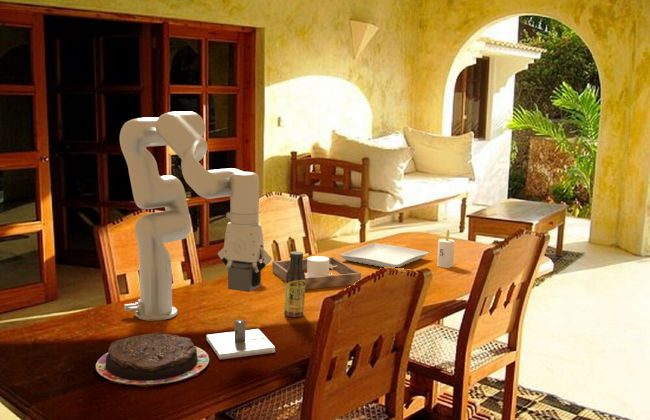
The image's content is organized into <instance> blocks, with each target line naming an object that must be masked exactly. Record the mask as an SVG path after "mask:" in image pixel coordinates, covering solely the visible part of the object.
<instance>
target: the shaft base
mask: <svg viewBox="0 0 650 420" xmlns="http://www.w3.org/2000/svg"><path fill="white" fill-rule="evenodd" d="M233 328H234V330H233V331H228V332H220V333H212V334H206V342H207V343H208V344H209V346H210V347H211V349H212V350H213V352H214V353H215V354H216V356H217V358H218V359H219V360H226V359H234V358H235V359H236V358H243V357H248V356H249V357H250V356H256V355H265V354H273V353H276V347H275V345H274V344H273V343H272V342H271V341H270V340H269V339H268V337H267V336H266V335H265V334H264V333H263V332H262V331H261V330H260V329H259V328H255V329H247V328H246V320H245V319H236V320H234V327H233Z"/></svg>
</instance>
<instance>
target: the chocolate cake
mask: <svg viewBox="0 0 650 420" xmlns="http://www.w3.org/2000/svg"><path fill="white" fill-rule="evenodd" d="M107 351H108V352H106V353H104V354H103V355H102V356H101V357H100V358H98V359H97V362H96V363H95V371H96V372H97V373H98V375H99V376H101V377H102V378H104V379H106V380H107V381H109V382H110V383H111V382H113V383H112V384H116V383H118V385H122V384H125V385H126V386H129V385H130V386H131V385H132V386H137V387H140V386H141V387H142V388H149V386H151V387H154V385H155V386H162V385H161V384H163V385H167V384H171V383H176V382H182V381H184V380H188V379H190V378H193V377H197V376H199V375H200V373H201V372H202V371H203V370H205V369H206V367H207V366H208V365H209V363H210V358H209V354H208V353H207V352H206V350H204V349H202V348H200V347H198V346H196V345H194V343H193V341H192V339H191V338H189V337H186V336H179V335H176V334H170V333H167V332H163V331H158V332H151V333H145V334H144V333H143V334H139V335H138V334H137V335H133V336H130V337H125V338H121V339H117V340H114V341H112V342H111V343H110V346H109V347H108V350H107ZM125 385H124V386H125ZM132 386H131V387H132ZM141 387H140V388H141Z"/></svg>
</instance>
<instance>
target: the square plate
mask: <svg viewBox="0 0 650 420" xmlns="http://www.w3.org/2000/svg"><path fill="white" fill-rule="evenodd" d="M428 254H429V251H425V250H420V249H416V248H415V249H414V248H410V247H404V246H397V245H391V244H382V243H378V242H377V243H376V242H375V243H371V244H367V245H363V246H360V247H357V248H353V249H351V250H349V251H345V252H343V253H341V254H339V256H340V258H341V259H344V260H345V261H348V262H353V263H357V262H358V264H362V263H363V264H362V265H367V264H368V266H372V265H374V267H377V266H379V267H378V268H382V267H398V268H400V267H403V266H405V264H406V265H408V264H411V263H413V261H414V262H416V261H418V260H421V259H423V258H424V257H425V256H427V255H428ZM410 262H411V263H410Z"/></svg>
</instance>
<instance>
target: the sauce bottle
mask: <svg viewBox="0 0 650 420" xmlns="http://www.w3.org/2000/svg"><path fill="white" fill-rule="evenodd" d="M289 258H290V268H289V269H288V271H287V274H286V282H285V281H284V303H283V311H284V312H283V313H284V314H283V315H284V316H286V317H288V318H300V317H303V315H304V311H305V301H306V300H305V296H306V295H305V293H306V289H305V277H306V275H305V274H306V272H305V270H303V268H302V259H304V252H302V251H291V252H290V253H289Z"/></svg>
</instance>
